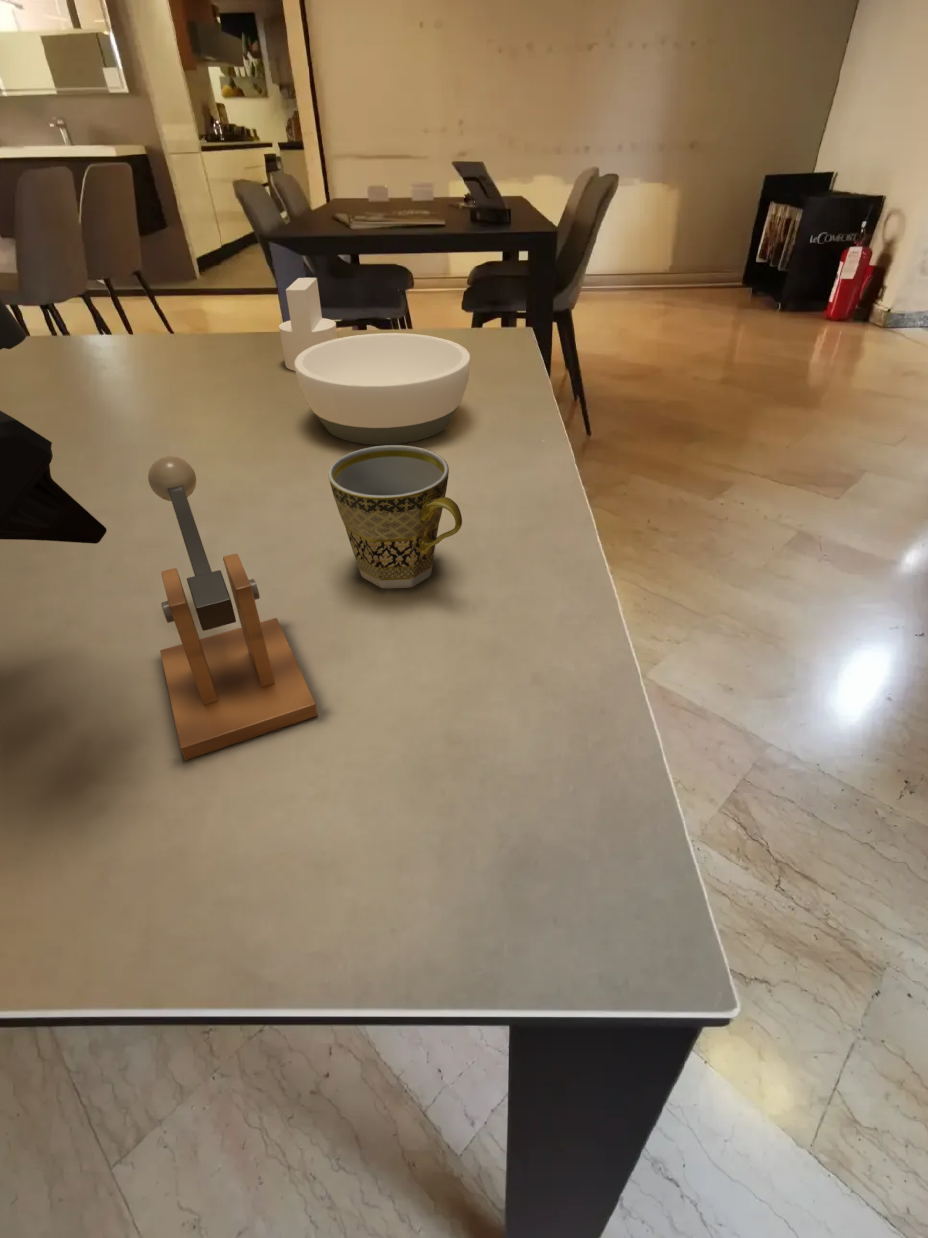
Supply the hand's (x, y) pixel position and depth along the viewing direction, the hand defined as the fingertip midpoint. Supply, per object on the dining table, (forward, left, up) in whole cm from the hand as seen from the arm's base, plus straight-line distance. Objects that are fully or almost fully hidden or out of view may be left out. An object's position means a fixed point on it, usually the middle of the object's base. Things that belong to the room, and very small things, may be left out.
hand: (68, 512), depth 43 cm
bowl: (+36, +38, -13) cm, 54 cm away
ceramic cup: (+24, +2, -13) cm, 27 cm away
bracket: (+7, -6, -13) cm, 16 cm away
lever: (+7, +1, -5) cm, 9 cm away
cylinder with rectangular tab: (+34, +67, -13) cm, 76 cm away
